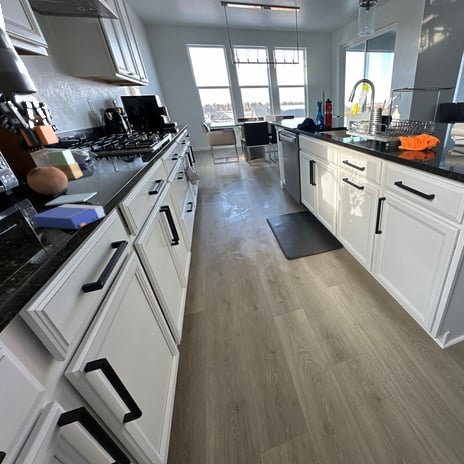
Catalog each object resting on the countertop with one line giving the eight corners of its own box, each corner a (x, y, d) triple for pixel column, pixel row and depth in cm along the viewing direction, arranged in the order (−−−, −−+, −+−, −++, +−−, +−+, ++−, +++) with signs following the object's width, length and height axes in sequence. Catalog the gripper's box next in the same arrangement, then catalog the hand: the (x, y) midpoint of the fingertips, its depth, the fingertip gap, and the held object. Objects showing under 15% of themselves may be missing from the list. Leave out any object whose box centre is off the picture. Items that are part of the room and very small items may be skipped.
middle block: (53, 166, 97) (46, 152, 94) (61, 163, 101) (54, 150, 99) (68, 164, 98) (61, 151, 95) (75, 162, 102) (69, 149, 100)
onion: (52, 205, 82) (23, 183, 74) (40, 193, 86) (10, 171, 77) (81, 188, 87) (56, 165, 79) (68, 177, 90) (43, 154, 82)
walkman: (37, 226, 60) (77, 229, 58) (31, 216, 59) (71, 218, 57) (71, 213, 67) (107, 215, 65) (65, 203, 66) (103, 205, 63)
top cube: (28, 145, 68) (18, 127, 65) (40, 143, 72) (31, 126, 69) (48, 144, 69) (39, 126, 66) (59, 142, 73) (50, 124, 70)
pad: (45, 205, 73) (44, 204, 73) (61, 197, 80) (61, 195, 80) (84, 201, 75) (83, 200, 75) (97, 193, 82) (96, 192, 82)
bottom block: (59, 180, 99) (52, 166, 96) (67, 176, 104) (60, 163, 101) (75, 178, 100) (68, 164, 98) (83, 175, 105) (76, 161, 102)
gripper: (10, 74, 67) (45, 141, 75) (-40, 68, 55) (7, 149, 63) (43, 73, 69) (73, 139, 77) (1, 67, 57) (42, 146, 65)
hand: (43, 143), depth 70 cm, fingers closed on top cube, 4 cm apart
